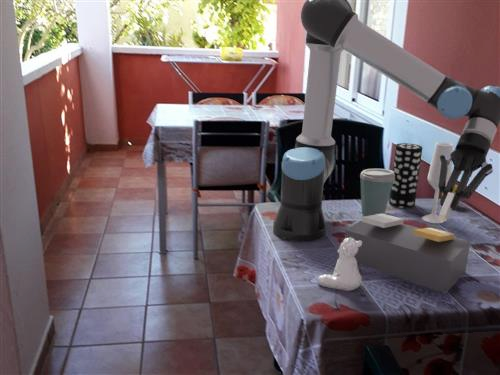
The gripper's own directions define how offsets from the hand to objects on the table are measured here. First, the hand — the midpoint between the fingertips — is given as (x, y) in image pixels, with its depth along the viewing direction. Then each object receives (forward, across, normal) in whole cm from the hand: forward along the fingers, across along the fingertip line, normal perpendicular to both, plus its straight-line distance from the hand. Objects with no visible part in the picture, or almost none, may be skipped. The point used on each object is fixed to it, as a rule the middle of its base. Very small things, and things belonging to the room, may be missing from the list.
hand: (442, 217), depth 119 cm
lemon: (-25, +13, -44) cm, 52 cm away
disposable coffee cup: (-5, +27, -24) cm, 37 cm away
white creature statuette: (+26, +12, +7) cm, 30 cm away
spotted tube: (-18, +25, -36) cm, 47 cm away
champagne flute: (-13, +12, -32) cm, 36 cm away
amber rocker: (+6, 0, +1) cm, 6 cm away
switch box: (+13, +6, -6) cm, 15 cm away
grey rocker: (+6, +13, +1) cm, 14 cm away
